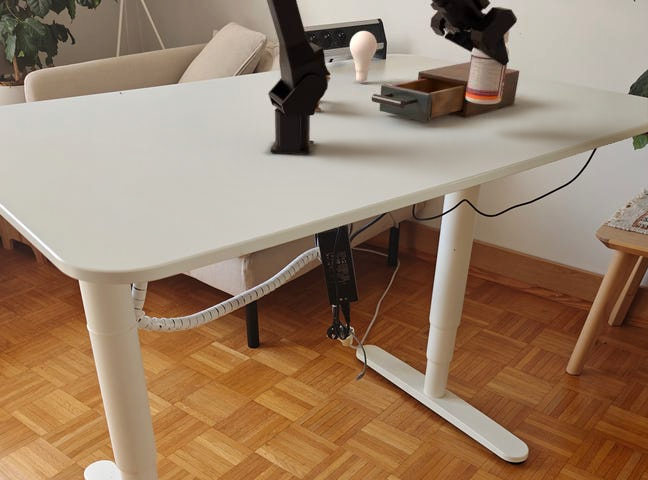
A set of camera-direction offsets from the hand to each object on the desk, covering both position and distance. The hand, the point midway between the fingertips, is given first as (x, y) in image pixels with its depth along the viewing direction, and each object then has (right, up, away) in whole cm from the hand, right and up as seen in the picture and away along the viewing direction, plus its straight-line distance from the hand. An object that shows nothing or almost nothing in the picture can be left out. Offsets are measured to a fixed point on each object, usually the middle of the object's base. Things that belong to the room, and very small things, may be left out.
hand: (496, 60), depth 116 cm
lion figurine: (-31, 0, +22) cm, 38 cm away
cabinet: (0, +1, +24) cm, 24 cm away
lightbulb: (-19, +13, +42) cm, 48 cm away
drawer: (-10, -3, +16) cm, 19 cm away
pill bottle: (-1, -6, +3) cm, 7 cm away
